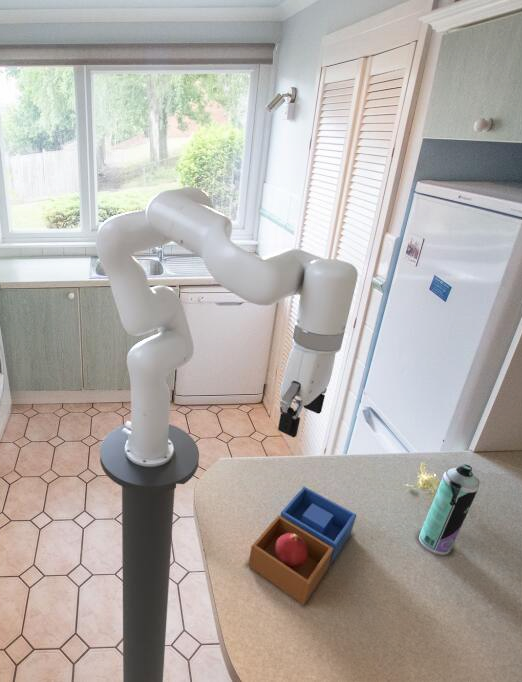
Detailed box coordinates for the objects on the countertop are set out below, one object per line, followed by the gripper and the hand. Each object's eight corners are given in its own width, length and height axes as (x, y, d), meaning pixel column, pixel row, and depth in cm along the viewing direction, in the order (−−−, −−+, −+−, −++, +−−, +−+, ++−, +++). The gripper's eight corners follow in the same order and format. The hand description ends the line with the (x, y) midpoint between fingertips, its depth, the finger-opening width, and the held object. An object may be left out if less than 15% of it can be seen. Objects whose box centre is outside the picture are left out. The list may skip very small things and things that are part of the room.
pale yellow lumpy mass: (465, 517, 101) (487, 483, 99) (434, 520, 93) (457, 484, 91) (417, 483, 110) (436, 452, 108) (384, 484, 102) (404, 450, 100)
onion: (270, 549, 89) (275, 520, 86) (299, 552, 89) (307, 522, 85) (275, 575, 84) (281, 546, 81) (307, 578, 84) (315, 549, 80)
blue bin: (276, 531, 94) (280, 512, 92) (299, 505, 101) (303, 486, 98) (330, 565, 87) (336, 545, 84) (350, 534, 93) (356, 514, 91)
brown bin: (248, 565, 87) (251, 545, 84) (274, 534, 93) (278, 514, 91) (303, 605, 80) (309, 584, 77) (328, 568, 86) (333, 548, 84)
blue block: (298, 530, 93) (302, 515, 91) (308, 518, 96) (312, 503, 94) (320, 543, 91) (324, 527, 89) (329, 530, 93) (333, 515, 92)
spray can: (451, 559, 88) (487, 481, 79) (418, 547, 91) (450, 470, 82) (449, 539, 92) (483, 463, 84) (418, 528, 95) (448, 453, 86)
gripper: (318, 315, 82) (301, 394, 89) (270, 345, 71) (256, 433, 78) (361, 327, 77) (340, 410, 85) (317, 361, 66) (297, 453, 74)
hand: (299, 421), depth 82 cm, fingers open, 9 cm apart
